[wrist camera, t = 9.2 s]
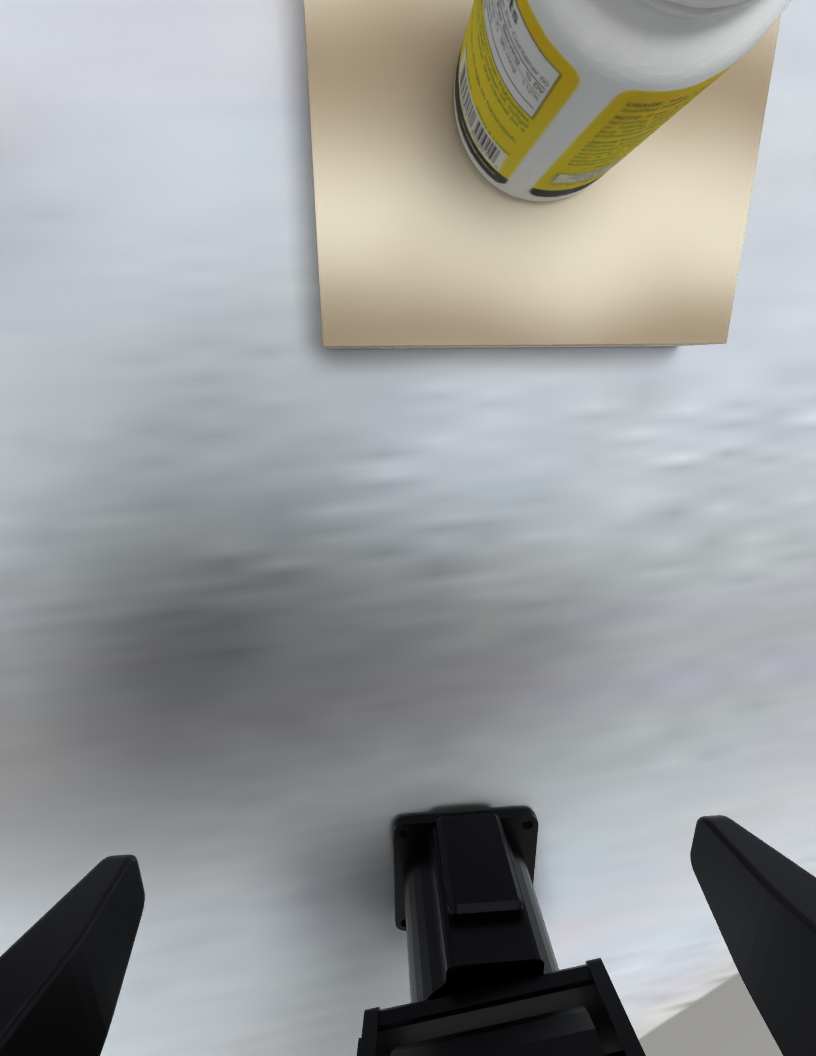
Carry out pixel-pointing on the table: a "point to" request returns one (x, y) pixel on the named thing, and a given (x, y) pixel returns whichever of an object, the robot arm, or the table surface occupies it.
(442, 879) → the robot arm
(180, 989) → the table surface
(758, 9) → the supplement bottle
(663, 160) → the birch base
